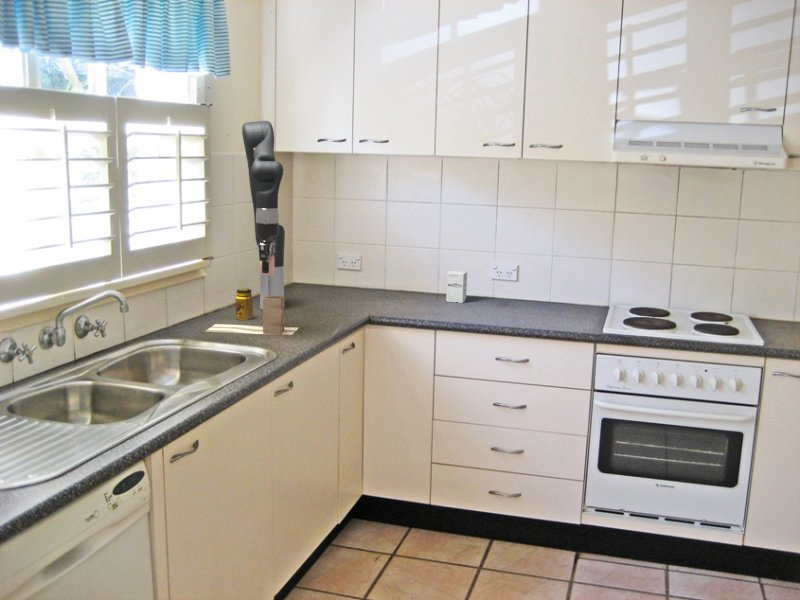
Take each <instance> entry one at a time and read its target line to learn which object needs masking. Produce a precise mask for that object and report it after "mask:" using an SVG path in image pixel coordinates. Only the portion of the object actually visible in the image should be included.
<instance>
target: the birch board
mask: <svg viewBox="0 0 800 600" xmlns="http://www.w3.org/2000/svg"><path fill="white" fill-rule="evenodd" d="M298 329H299V327H295V326H293V327H291V326H284V331H283V332H282V333H281V334H272V335H276V336H293V335H294V333H295V332H297V330H298ZM205 332H206V333H230V334H232V333H233V334H253V335H264V334H263V325H249V324H248V325H246V324H225V323H224V324H223V323H222V324H221V323H214V325H212V326H210V327H209V328H207V329H206V330H205Z"/></svg>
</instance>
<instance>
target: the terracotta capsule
mask: <svg viewBox="0 0 800 600" xmlns="http://www.w3.org/2000/svg"><path fill="white" fill-rule="evenodd" d="M264 257H265V255H264ZM260 274H262V275H272V274H274V256H272V255H270V256H269V273H262V262H261V261H260V260H259V275H260Z"/></svg>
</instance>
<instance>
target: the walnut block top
mask: <svg viewBox="0 0 800 600" xmlns="http://www.w3.org/2000/svg"><path fill="white" fill-rule="evenodd" d="M283 314H284V315H285V295H284V296H266V297H265V298H263V310H262V317H263V316H268V317H281V316H282V315H283Z"/></svg>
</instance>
